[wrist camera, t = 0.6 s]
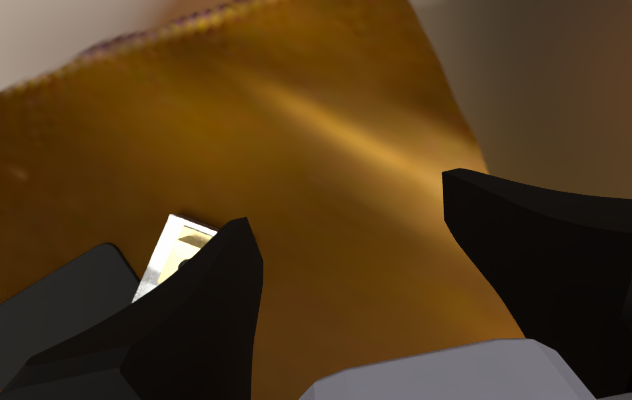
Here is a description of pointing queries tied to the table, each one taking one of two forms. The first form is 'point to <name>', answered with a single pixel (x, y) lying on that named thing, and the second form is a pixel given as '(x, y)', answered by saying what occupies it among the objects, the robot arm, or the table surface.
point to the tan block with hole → (183, 250)
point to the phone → (64, 306)
